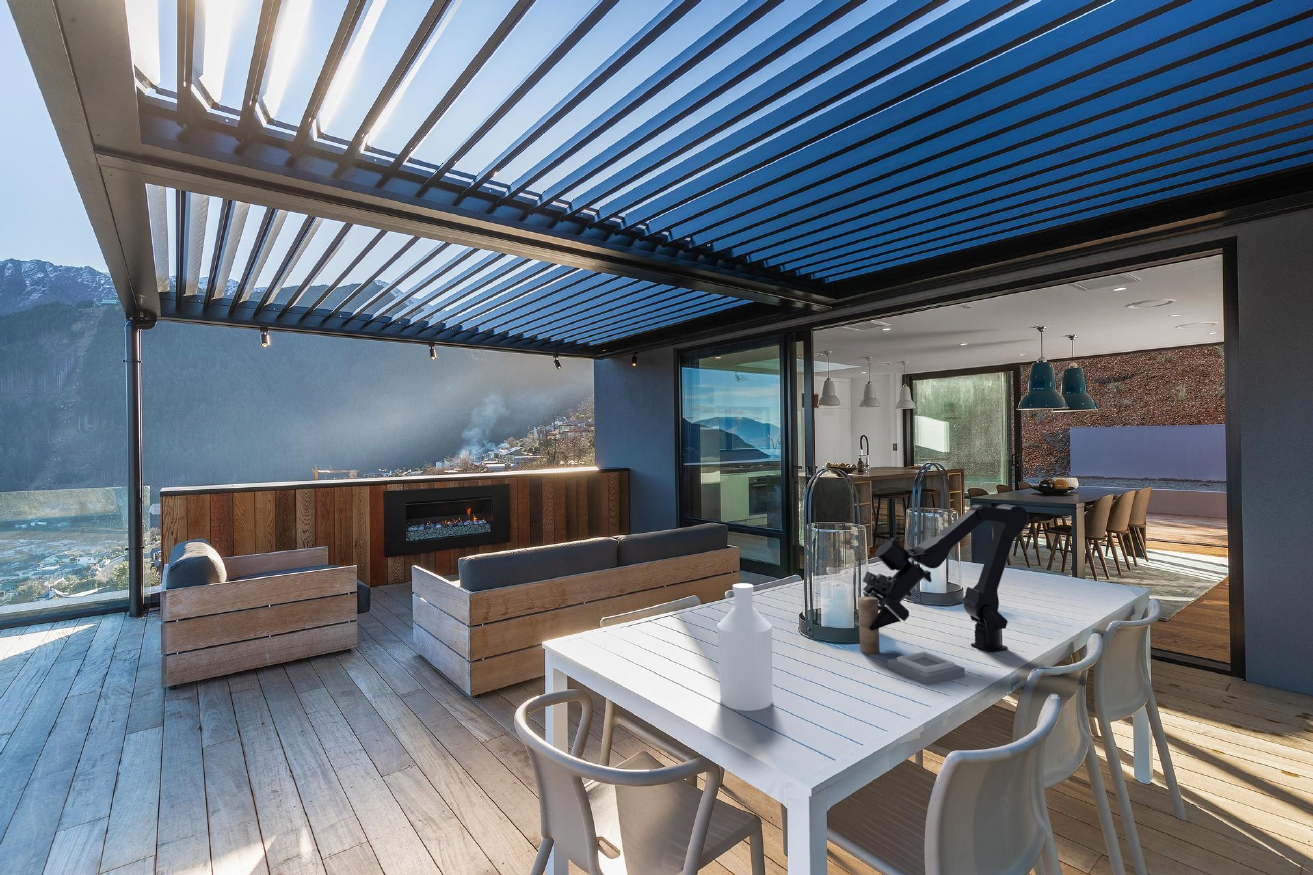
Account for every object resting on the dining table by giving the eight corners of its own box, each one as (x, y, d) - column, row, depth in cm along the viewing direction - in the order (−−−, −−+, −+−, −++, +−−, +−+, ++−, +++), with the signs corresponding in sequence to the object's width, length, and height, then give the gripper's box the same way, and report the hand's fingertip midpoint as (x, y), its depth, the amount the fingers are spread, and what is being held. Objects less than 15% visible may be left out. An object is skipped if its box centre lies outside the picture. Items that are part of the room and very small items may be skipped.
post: (870, 647, 166) (868, 595, 167) (883, 652, 162) (882, 599, 162) (856, 649, 164) (854, 597, 165) (869, 655, 160) (867, 601, 160)
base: (924, 660, 155) (924, 648, 155) (964, 676, 143) (964, 663, 144) (888, 668, 150) (887, 656, 150) (926, 685, 139) (926, 671, 139)
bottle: (708, 700, 133) (705, 586, 134) (741, 685, 142) (738, 577, 142) (752, 716, 125) (748, 594, 126) (784, 698, 133) (781, 584, 134)
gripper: (869, 555, 173) (831, 595, 173) (895, 567, 154) (853, 612, 154) (897, 582, 173) (860, 622, 172) (927, 598, 154) (885, 643, 154)
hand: (863, 624), depth 163 cm, fingers open, 9 cm apart
